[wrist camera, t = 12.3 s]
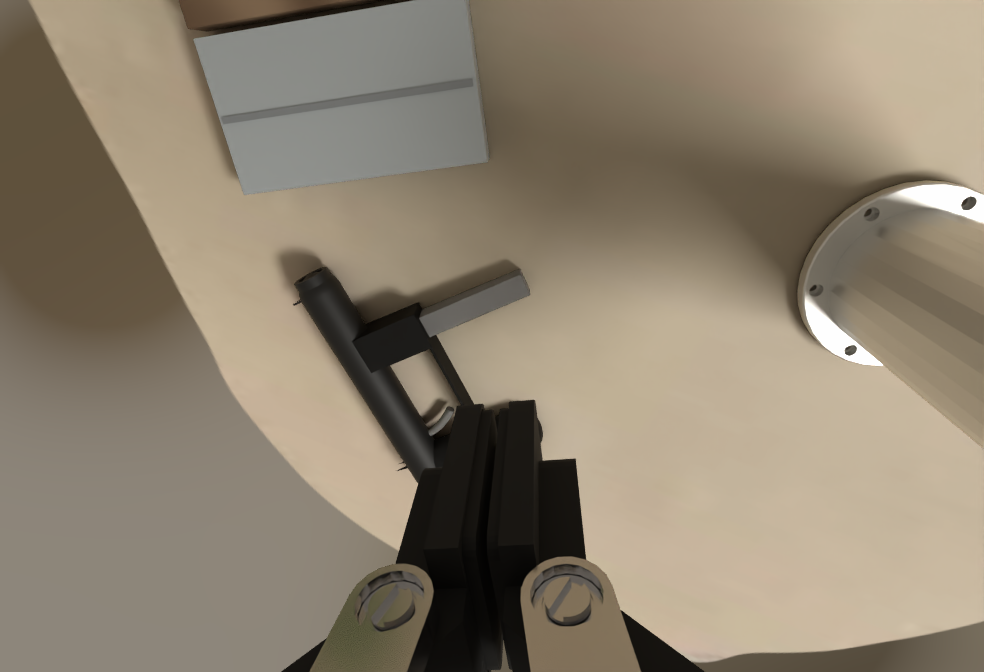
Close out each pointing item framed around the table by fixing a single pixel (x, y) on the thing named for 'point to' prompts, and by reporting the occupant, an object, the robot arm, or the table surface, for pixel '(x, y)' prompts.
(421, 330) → the door handle
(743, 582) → the table surface
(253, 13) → the plank
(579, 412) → the table surface
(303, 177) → the laid boards
